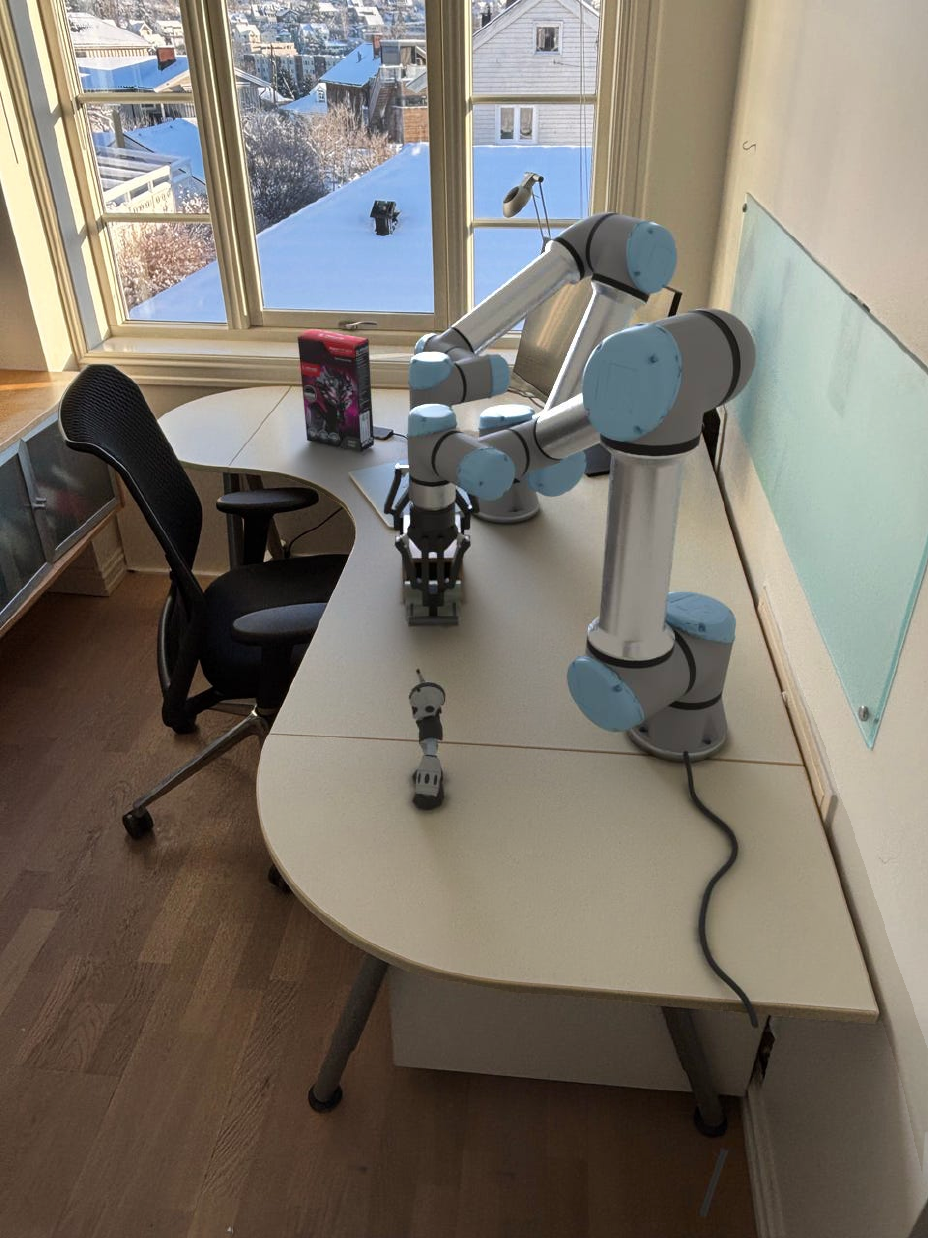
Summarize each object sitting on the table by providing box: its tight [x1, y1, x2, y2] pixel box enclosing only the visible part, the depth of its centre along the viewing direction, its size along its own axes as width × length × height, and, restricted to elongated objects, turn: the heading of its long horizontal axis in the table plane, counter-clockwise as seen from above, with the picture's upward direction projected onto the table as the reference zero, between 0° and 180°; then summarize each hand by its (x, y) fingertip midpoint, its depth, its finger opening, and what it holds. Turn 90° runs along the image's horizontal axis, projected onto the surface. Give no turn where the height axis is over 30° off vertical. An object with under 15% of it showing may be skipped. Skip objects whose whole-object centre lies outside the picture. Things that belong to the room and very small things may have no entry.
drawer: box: [404, 562, 462, 628], centre depth 168 cm, size 22×10×8 cm, turn 2°
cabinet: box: [401, 514, 464, 604], centre depth 177 cm, size 17×11×10 cm, turn 2°
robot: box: [408, 668, 446, 810], centre depth 126 cm, size 20×5×20 cm, turn 3°
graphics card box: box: [297, 328, 375, 454], centre depth 227 cm, size 17×7×27 cm, turn 62°
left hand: (432, 543), depth 182 cm, fingers closed on cabinet, 11 cm apart
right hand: (433, 620), depth 163 cm, fingers closed
